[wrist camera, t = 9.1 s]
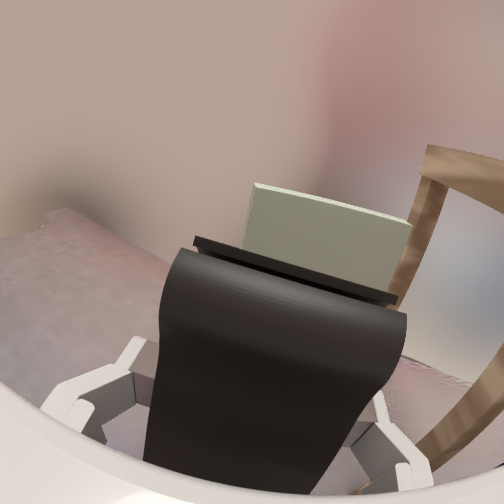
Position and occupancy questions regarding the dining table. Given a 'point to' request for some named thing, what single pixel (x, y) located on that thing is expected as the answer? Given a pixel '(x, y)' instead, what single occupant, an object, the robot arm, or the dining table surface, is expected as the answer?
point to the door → (325, 235)
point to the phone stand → (264, 367)
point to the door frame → (424, 221)
